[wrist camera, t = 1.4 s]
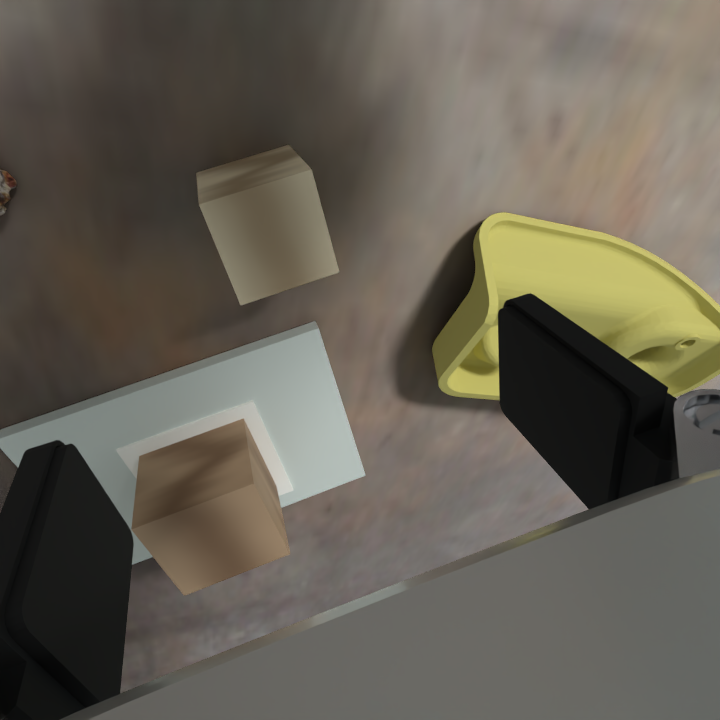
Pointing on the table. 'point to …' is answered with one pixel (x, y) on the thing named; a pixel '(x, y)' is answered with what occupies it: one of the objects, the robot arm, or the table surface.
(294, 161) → the maple block
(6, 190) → the mineral rock
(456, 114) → the table surface
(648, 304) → the plastic component
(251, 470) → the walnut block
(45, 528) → the robot arm
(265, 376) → the board
